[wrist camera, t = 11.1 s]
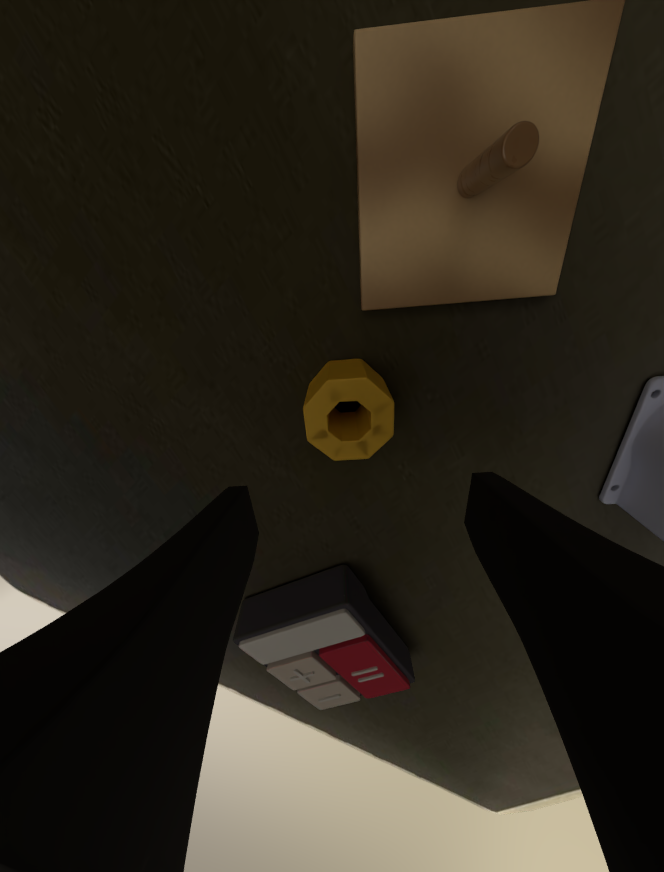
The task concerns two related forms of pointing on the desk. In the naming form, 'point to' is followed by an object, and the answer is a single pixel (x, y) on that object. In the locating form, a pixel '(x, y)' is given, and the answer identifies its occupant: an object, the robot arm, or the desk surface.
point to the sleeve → (348, 429)
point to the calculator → (325, 639)
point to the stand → (475, 149)
